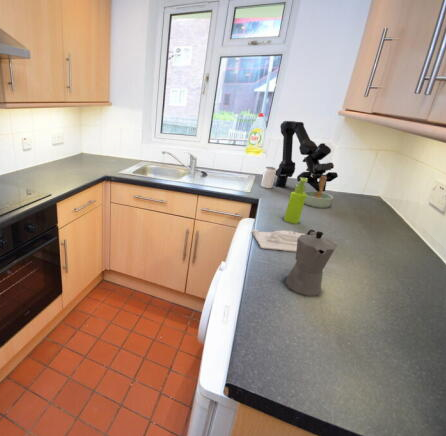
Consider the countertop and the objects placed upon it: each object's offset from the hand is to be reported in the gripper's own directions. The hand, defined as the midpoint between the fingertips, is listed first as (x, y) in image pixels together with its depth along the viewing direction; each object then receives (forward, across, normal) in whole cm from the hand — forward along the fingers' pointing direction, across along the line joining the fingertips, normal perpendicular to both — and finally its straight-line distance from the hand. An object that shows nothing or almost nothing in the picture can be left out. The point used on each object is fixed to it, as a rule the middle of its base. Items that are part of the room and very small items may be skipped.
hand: (321, 191), depth 152 cm
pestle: (+4, 0, +6) cm, 7 cm away
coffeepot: (+54, -54, -43) cm, 87 cm away
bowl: (+4, 0, +7) cm, 8 cm away
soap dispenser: (+20, -27, -10) cm, 36 cm away
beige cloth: (+35, -43, -24) cm, 60 cm away
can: (-17, -11, +28) cm, 34 cm away
